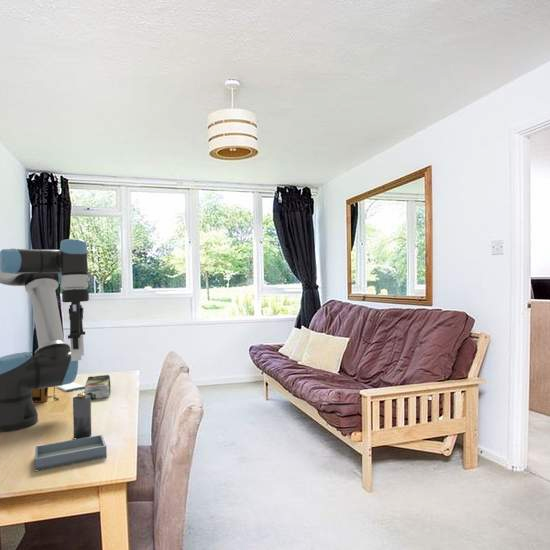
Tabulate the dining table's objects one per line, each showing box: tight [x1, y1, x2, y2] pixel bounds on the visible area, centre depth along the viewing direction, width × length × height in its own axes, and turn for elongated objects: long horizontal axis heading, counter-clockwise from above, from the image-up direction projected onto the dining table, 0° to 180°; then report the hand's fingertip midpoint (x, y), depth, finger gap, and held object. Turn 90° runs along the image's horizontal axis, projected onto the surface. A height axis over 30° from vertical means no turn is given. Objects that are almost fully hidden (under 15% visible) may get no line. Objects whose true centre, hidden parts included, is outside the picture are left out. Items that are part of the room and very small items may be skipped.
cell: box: [72, 392, 92, 439], centre depth 135 cm, size 5×5×13 cm
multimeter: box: [29, 351, 59, 403], centre depth 178 cm, size 15×10×20 cm
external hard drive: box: [55, 381, 85, 393], centre depth 197 cm, size 2×8×12 cm
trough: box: [34, 434, 108, 471], centre depth 119 cm, size 10×17×3 cm, turn 118°
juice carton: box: [84, 374, 111, 399], centre depth 186 cm, size 20×10×6 cm, turn 20°
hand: (77, 358), depth 134 cm, fingers open, 13 cm apart
